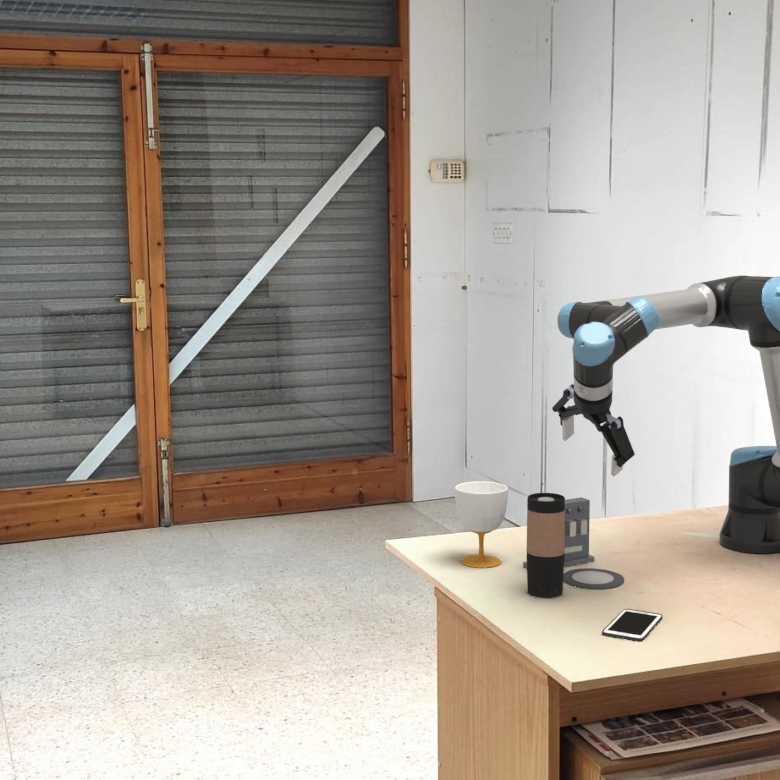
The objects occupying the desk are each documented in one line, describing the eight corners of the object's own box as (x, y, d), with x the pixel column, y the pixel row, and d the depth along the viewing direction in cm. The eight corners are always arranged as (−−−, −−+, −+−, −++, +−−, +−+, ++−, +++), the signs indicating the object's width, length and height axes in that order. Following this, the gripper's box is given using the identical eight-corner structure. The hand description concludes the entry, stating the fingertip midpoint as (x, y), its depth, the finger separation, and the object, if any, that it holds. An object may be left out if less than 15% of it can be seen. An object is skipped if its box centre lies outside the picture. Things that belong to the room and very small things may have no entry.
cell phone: (600, 637, 205) (600, 632, 205) (624, 612, 218) (624, 607, 218) (642, 644, 202) (642, 639, 202) (663, 619, 214) (664, 614, 214)
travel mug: (519, 589, 231) (519, 494, 228) (551, 584, 234) (552, 491, 231) (538, 601, 224) (539, 503, 221) (571, 595, 227) (572, 499, 224)
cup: (516, 566, 247) (517, 490, 244) (467, 572, 243) (467, 495, 240) (493, 552, 258) (494, 479, 255) (446, 557, 254) (446, 483, 251)
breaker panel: (582, 556, 253) (583, 496, 251) (596, 562, 249) (597, 501, 247) (523, 567, 246) (523, 504, 244) (536, 573, 242) (537, 510, 240)
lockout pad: (633, 576, 239) (633, 573, 239) (610, 593, 228) (610, 590, 228) (576, 566, 246) (576, 564, 246) (551, 582, 235) (551, 580, 235)
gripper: (533, 366, 226) (536, 432, 242) (629, 433, 212) (625, 498, 228) (559, 346, 228) (560, 412, 244) (655, 410, 215) (650, 476, 230)
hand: (592, 454), depth 236 cm, fingers open, 13 cm apart
